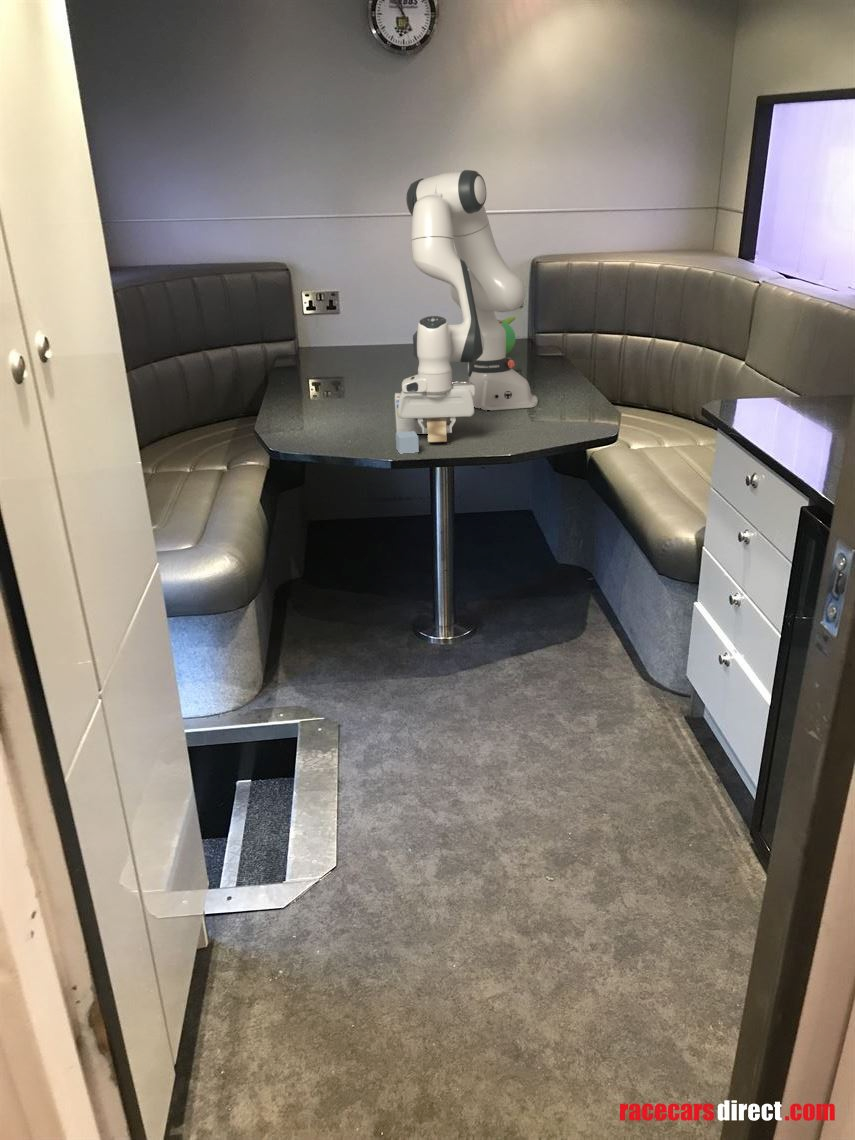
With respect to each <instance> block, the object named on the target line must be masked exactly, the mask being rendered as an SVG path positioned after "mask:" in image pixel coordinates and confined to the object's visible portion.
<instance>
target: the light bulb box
mask: <svg viewBox="0 0 855 1140" xmlns="http://www.w3.org/2000/svg"><path fill="white" fill-rule="evenodd" d="M400 394H401V392H395V393H394V417H395V430H396V432H395V434H396V433H400V432H410V431H415V433H416V434H417V433H422V428H421V426H420V425H419V423H418V418H408V419H401V418H400V417H399V415H398V405H399V397H400ZM428 419H430V418H423V424H424V425H425V426H427V420H428Z"/></svg>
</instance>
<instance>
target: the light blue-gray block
mask: <svg viewBox="0 0 855 1140" xmlns="http://www.w3.org/2000/svg"><path fill="white" fill-rule="evenodd" d="M395 448H396V449H397V450H398V452H399V453H400V454H403V453H415V452H419V453H420V451H419V450H420V449H419V435H417V434H416V433H415V431H410V432H400V433H396V432H395ZM396 449H395V450H396Z"/></svg>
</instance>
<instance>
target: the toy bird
mask: <svg viewBox="0 0 855 1140" xmlns="http://www.w3.org/2000/svg"><path fill="white" fill-rule="evenodd" d="M497 320H498V322H499V323H500V324H501V325H502V326H503V327H504V329H505V332H506V355H507V354H509V353H510V352H511V351H512V350H513V349H514V346H515V343H516V333H515V330H514V329H513V327H512V326H511V323H512V322H514V321H515V320H516V317H515V316H513V317H508V318H505V319H501V320H500V319H497Z"/></svg>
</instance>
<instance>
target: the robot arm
mask: <svg viewBox="0 0 855 1140" xmlns="http://www.w3.org/2000/svg"><path fill="white" fill-rule="evenodd" d="M405 199H406V200H405V201H406V206H407V209H408V211H409V213H410V215H411V227H410V233H411V234H410V235H411V236H410V242H411V254H412V261H413V263H414V265H415V266H416V268H417V269H418V270H419V271H420V272H422V274H425V275H426V276H428V277H431V278H432V279H436V280H439V281H441V282H443V283H446V284H447V285H450V296H451V298H452V300H453V301H454V302H455V303H456V304H457V306H458V307H459V309H460V312H461V317H462V321H461V323H459V324H458V323H457V324H449V322H448V320H447V318H444V316H443V317H442V316H439V315H429V316H425V317H423V318H421V319H419V321H418V323H417V330H416V331H415V333H414V334H413V335H412V343H413V357H415V358H416V359H417V360H418V366H417V374H414V375H412V376H410V377H407V378H403V380H402V382H401V391H400V393H401V394H400V397H399V405H398V415H399V417H400V418H401V419H408V418H418V423H419V425H420V426H421V428H422V434H428V432H427V426H425V425H424V424H423V418H450V420H449V421H450V423H449V424H446V433H447V434H453V426H454V424H455V423H456V419H457V418H464V417H468V418H469V417H472V416H473V415H474V414H475V408H476V409H480V408H481V410H484V411H487V410H490V411H499V410H500V411H502V410H515V409H526V408H527V409H528V408H534V407H537V405H538V404H539V401H538V400H539V399H538V397H537V395H535V394H532V392H531V391H532V390H531V386H530V384H529V382H528V380H527V379H526V378H525V377H523V376H522V375H521V374H520V373H518V372H517V371H516V370H514V367H515V361H514V360H513V359H512V358H511V357H510V356H508V355H507V354H506V332H505V329H504V327H503V326H502V325H501V324H500V323H499V322H498V320H499V319H497V317H496V314H495V312H497V313H507V312H513V311H517V310H519V309H520V307H521V306H522V305H523V303H524V301H525V298H526V294H527V293H526V292H527V291H526V290H527V289H526V285H525V283H524V281H523V279H522V278H521V277H519V276H518V275H517V274H515V273H514V271H512V270H511V268H510V267H509V266H508V264H507V263H506V262H505V260H504V258H503V257H502V255H501V254H500V251H499V250H498V247H497V245H496V242H495V239H494V235H493V231H492V227H491V224H490V221H489V218H488V213H487V210H486V208H485V204H486V200H487V187H486V182H485V179H484V177H483V176H482V175H481V174H480V173H479V172H478V171H476V170H471V169H464V170H462V171H450V172H441V174H437V175H433V176H430V177H427V178H426V177H425V178H420V179H418V180H417V179H416V180H415V181H413V182H411V183H410V185H409V187H408V189H407V191H406V197H405ZM455 362H460V363H467V375H468V380H463V381H461V380H453V370H452V369H453V368H452V366H451V365H452V364H451V363H455ZM474 407H475V408H474Z"/></svg>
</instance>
